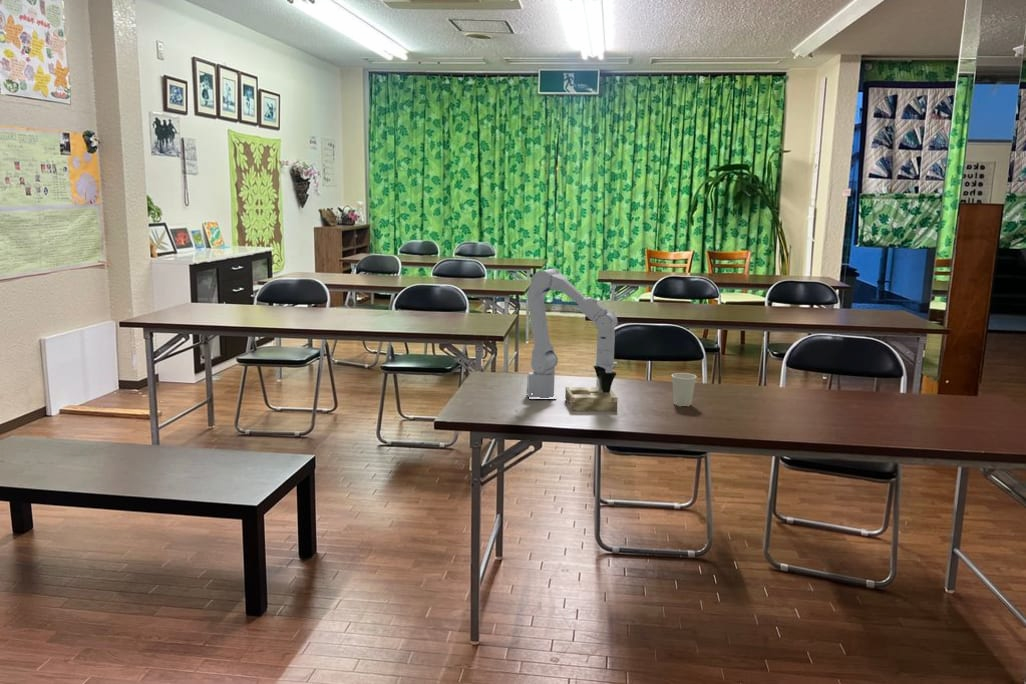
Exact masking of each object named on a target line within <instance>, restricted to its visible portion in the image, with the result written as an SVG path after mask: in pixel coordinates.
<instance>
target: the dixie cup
mask: <svg viewBox="0 0 1026 684" xmlns="http://www.w3.org/2000/svg"><path fill="white" fill-rule="evenodd" d="M697 378H698V376H697V375H696V374H694V373H693V374H692V373H688V372H687V373H686V372H675V373H672V374H671V380H672V383H671V384H672V395H673V397H672V398H673V405H674V404H675V406H676V405H677V407H681V406H688V407H691V406H692V402H693V396H694V392H695V385H696V381H697ZM690 405H691V406H690Z"/></svg>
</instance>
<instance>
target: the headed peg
mask: <svg viewBox="0 0 1026 684" xmlns="http://www.w3.org/2000/svg"><path fill="white" fill-rule="evenodd" d="M595 383H596V384H595V385H596V386H595V387H596V391H597V393H598V394H610V392H609V393H603V391H602V382H601V377H600V376H597V375H596V382H595Z"/></svg>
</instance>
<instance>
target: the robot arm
mask: <svg viewBox="0 0 1026 684" xmlns="http://www.w3.org/2000/svg"><path fill="white" fill-rule="evenodd" d="M527 290H528V291H527V303H528V310H529V317H530V318H529V319H530V324H531V330H532V331H531V332H532V336H533V337H532V338H533V344H534V345H533V347H532V348H533V349H532V351H531V360H530V367H531V369H532V370H533V371H530V372H529V371H528V372H527V376H526V377H527V379H526V395H527V394H528V396H527V398H528V397H540V398H549V397H553V396H554V395H555V375H556V373H555V372H556V371H555V367H556V366H558V362H559V361H558V356H557V354H556V353H555V350H554V347H553V345H552V344H551V343H550V342H551V341H550V335H549V326H548V320H547V314H546V306H545V300H544V298H545V297H546V295H547V294H548V293H549V292H550V291H560V292H562V293H563V294H564V295H566V296H567V297H568V298H570V299H571V300H572V301H574V302H575V303H576V304H577V305H578V308H579V312H580V313H582V314H584V316H585V317H586V318H587V319H589V320H590V321H592V322H593V323H594V326H595V328H596V330H597V337H596V356H595V357H596V361H595V365H593V369H594V371H595V374H596V377H597V376H600V377H601V382H602V391H603V393H609V392H610V389H611V390H612V385H613V382H614V379H615V378H616V376H617V372H616V371H613V367H614V366H618V362H617V361H615V338H616V334H615V332H616V327H617V325H618V323H619V321H618V317H617V316H616V314H615V313H614V312H612V311H609V309H607V308H604V307H603V306H602V305H601V304H600V303H599V302H598V299H597V298H595V297H594V298H593V297H591V296H588V297H586V296H585V295H584V294H583V293H582V292H581V291H580V290H579V289H578V288H577V287H575V286H574V285H573V284H572V283H571V282H570V281H569V280H568V279H567V278H566V277H565V276H564V274H562V273H560V272H559V271H558V270H557V269H555V268H549V269H548V268H547V269H540V270H538V271H536V272H535V273H534V274H533V275H532V276H531V277H530V285H529V287H528V289H527ZM531 393H533V395H531Z"/></svg>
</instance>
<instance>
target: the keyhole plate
mask: <svg viewBox="0 0 1026 684" xmlns="http://www.w3.org/2000/svg"><path fill="white" fill-rule="evenodd" d="M564 396H565V397H564V400H565V399H566V401H570V402H569V403H570V405H569V409H570V408H571V410H603V411H602V412H617V411H618V402H619V400H618V399H619V397H618V396H617V395H616V394H615V393H614V391H613V389H612V388H611V389H610V394H598V393H597V391H596V386H592V387H590V386H588V387H587V386H586V387H583V386H577V387H575V386H573V387H571V386H569V387H567V386H566V387H565V395H564ZM566 401H565V402H566ZM571 410H570V411H571ZM604 410H606V411H604Z"/></svg>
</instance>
